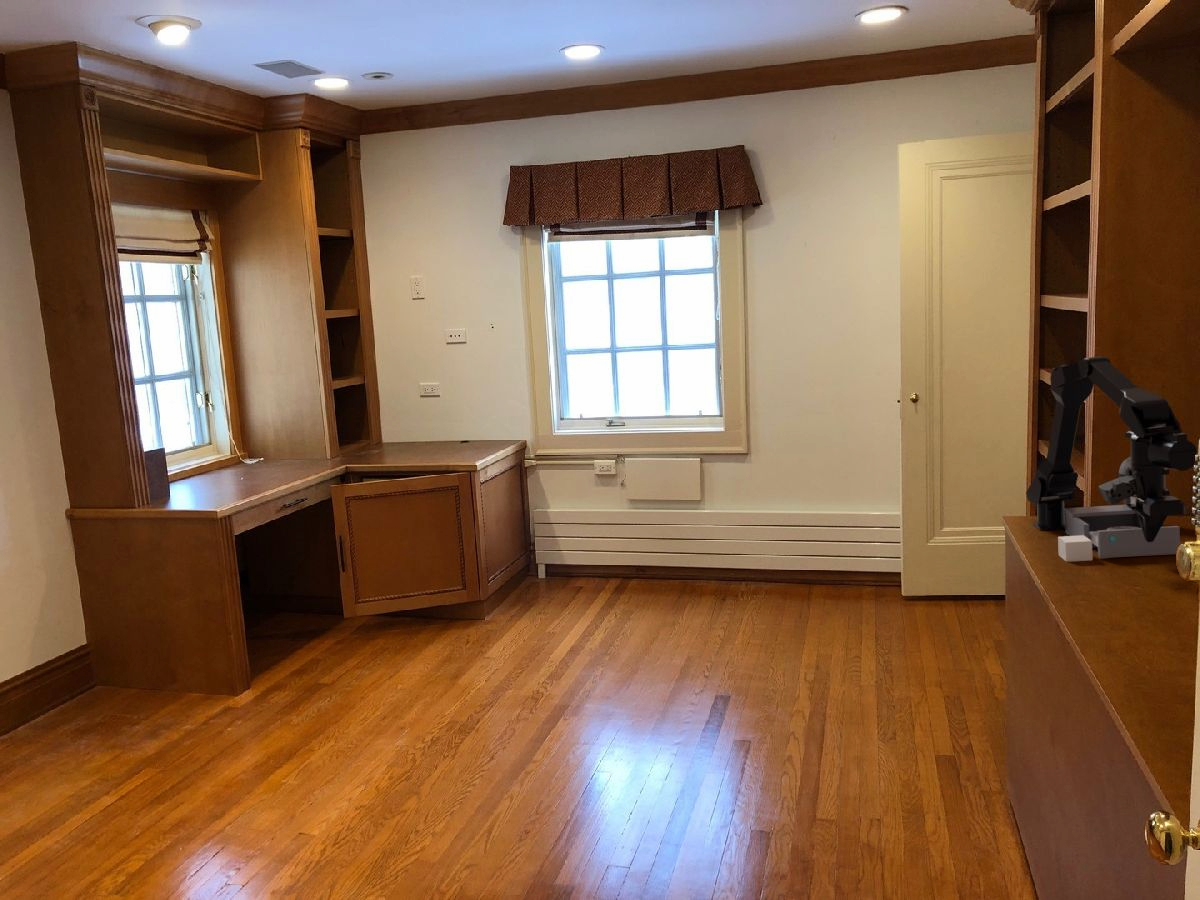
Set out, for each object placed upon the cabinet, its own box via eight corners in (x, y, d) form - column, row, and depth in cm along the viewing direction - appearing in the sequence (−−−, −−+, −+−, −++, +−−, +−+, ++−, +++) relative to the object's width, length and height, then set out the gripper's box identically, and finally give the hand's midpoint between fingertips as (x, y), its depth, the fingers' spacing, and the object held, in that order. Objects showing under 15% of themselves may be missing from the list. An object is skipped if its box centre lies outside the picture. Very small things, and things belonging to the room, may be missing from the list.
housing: (1065, 533, 220) (1064, 508, 219) (1136, 529, 217) (1136, 503, 217) (1084, 548, 207) (1083, 521, 206) (1160, 543, 205) (1160, 516, 204)
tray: (1078, 542, 211) (1078, 517, 210) (1153, 538, 208) (1153, 512, 208) (1100, 558, 198) (1100, 532, 197) (1181, 554, 195) (1180, 527, 194)
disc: (1112, 544, 201) (1111, 534, 201) (1102, 536, 208) (1102, 526, 208) (1149, 542, 200) (1149, 533, 199) (1139, 534, 206) (1138, 525, 206)
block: (1058, 555, 204) (1058, 536, 203) (1084, 553, 203) (1083, 535, 202) (1066, 561, 199) (1065, 542, 198) (1092, 560, 198) (1091, 541, 198)
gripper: (1087, 458, 199) (1089, 533, 202) (1121, 474, 181) (1123, 556, 183) (1145, 454, 198) (1147, 529, 200) (1186, 470, 179) (1187, 553, 182)
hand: (1149, 541), depth 191 cm, fingers closed
